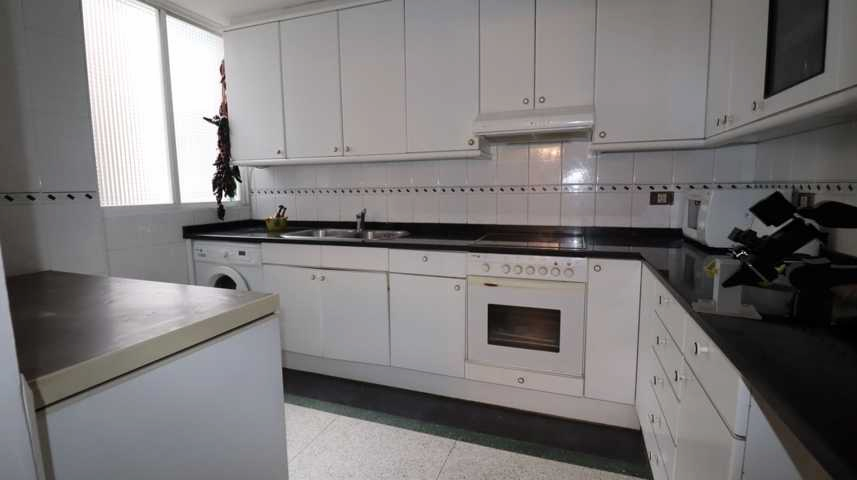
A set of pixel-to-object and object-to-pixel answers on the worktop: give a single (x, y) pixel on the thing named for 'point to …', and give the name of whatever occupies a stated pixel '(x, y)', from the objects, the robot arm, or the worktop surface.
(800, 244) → the robot arm
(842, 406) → the worktop surface
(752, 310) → the rail
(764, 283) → the plastic component
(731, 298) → the block
